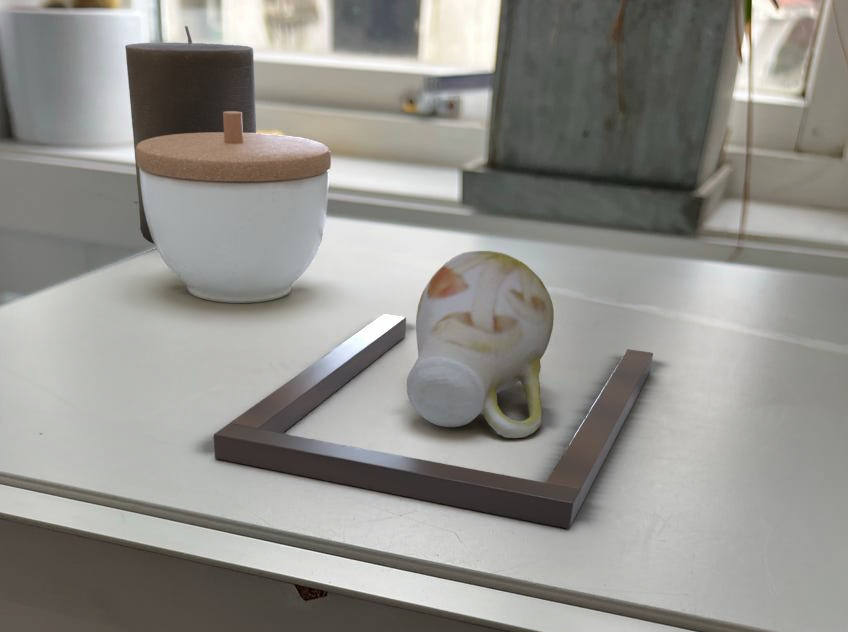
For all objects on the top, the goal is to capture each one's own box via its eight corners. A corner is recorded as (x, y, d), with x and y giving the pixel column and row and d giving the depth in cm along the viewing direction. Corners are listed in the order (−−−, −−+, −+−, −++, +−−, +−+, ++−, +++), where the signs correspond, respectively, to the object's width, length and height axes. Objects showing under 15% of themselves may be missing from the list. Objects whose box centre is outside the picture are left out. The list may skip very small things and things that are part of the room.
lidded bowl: (362, 302, 69) (367, 121, 63) (187, 324, 63) (173, 128, 57) (282, 260, 78) (279, 98, 72) (123, 277, 72) (105, 103, 66)
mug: (365, 436, 49) (369, 228, 49) (444, 459, 58) (447, 283, 57) (510, 427, 46) (516, 204, 45) (571, 453, 55) (576, 265, 54)
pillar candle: (210, 256, 78) (197, 31, 70) (116, 238, 82) (94, 23, 74) (283, 235, 85) (280, 27, 77) (193, 219, 89) (181, 20, 81)
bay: (383, 333, 63) (383, 313, 62) (649, 373, 58) (653, 352, 57) (214, 458, 46) (212, 434, 46) (569, 529, 41) (573, 503, 41)
